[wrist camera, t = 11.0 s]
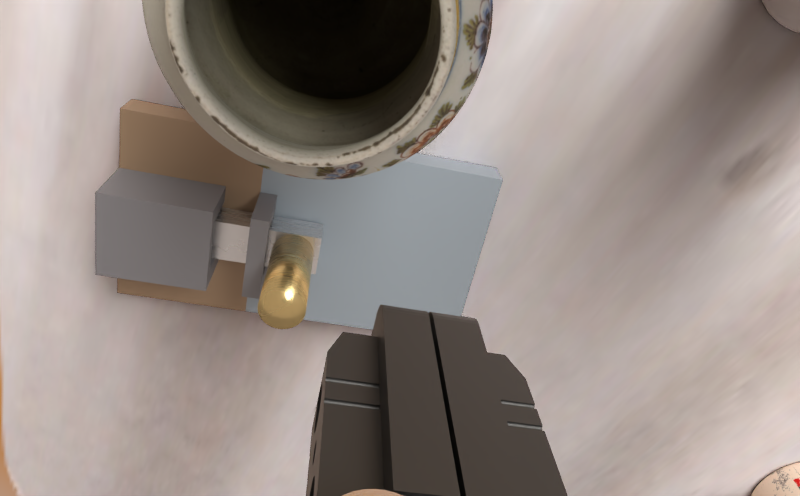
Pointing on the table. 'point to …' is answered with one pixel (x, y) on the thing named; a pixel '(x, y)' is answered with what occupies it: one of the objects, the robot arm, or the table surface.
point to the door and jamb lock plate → (291, 198)
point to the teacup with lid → (780, 482)
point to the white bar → (274, 261)
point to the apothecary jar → (321, 76)
